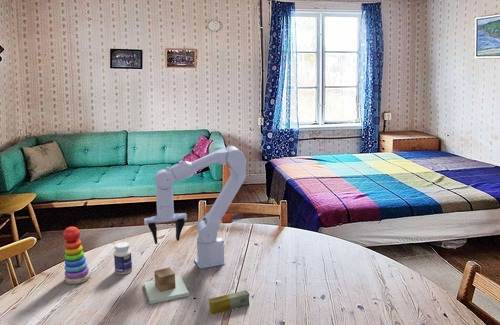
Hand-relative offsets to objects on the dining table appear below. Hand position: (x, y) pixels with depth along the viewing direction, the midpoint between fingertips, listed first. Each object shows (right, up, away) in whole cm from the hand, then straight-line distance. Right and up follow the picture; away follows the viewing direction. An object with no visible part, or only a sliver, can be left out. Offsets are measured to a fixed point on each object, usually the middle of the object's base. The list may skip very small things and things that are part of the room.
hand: (166, 241), depth 145 cm
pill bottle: (-15, -11, -1) cm, 18 cm away
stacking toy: (-29, -12, -6) cm, 32 cm away
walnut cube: (+2, -12, -14) cm, 18 cm away
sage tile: (+2, -13, -14) cm, 19 cm away
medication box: (+23, -16, -23) cm, 36 cm away
